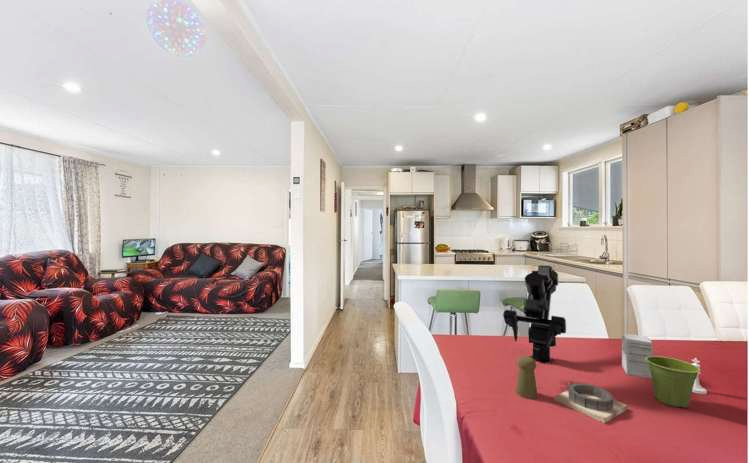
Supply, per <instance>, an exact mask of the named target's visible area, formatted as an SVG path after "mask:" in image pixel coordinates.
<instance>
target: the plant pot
mask: <svg viewBox="0 0 749 463" xmlns="http://www.w3.org/2000/svg"><path fill="white" fill-rule="evenodd" d="M645 359H646V361H647V362H648V365H649V369H650V372H651V377H652V379H651V382H652V387H653V394H654V398H655V399H657V400H658V402H661V403H662V404H665V405H667V406H670V407H675V408H678V407H680V408H681V407H682V408H683V409H684V408H688V407H689V405H690V401H691V397H692V393H693V392H692V389H693V385H694V381H695V379H696V377H697V374H698V373H699V372H700V373H701V370H702V369H701V367H700V368H698V367H697V366H695V365H693V364H692V363H690V362H688V361H684V360H681V359H677V358H672V357H666V356H660V355H653V356H648V357H646V358H645ZM698 375H699V374H698Z"/></svg>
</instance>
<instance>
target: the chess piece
mask: <svg viewBox="0 0 749 463" xmlns="http://www.w3.org/2000/svg"><path fill="white" fill-rule="evenodd" d="M691 361H692V362H693V363H691V364H693V365H695V366H697V367H698V368H700V369H701V365H700V363H701V361H700V360H698V358H696V357H694V359H691ZM701 374H702V373H701V371H700V372H699V373H698V374H697V377H696V379H695V381H694V385H693V389H692V393H695V394H699V395H706V394H708V390H707V389H706V388H705V387H702V385H701V384H700V379H699V375H701Z"/></svg>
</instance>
